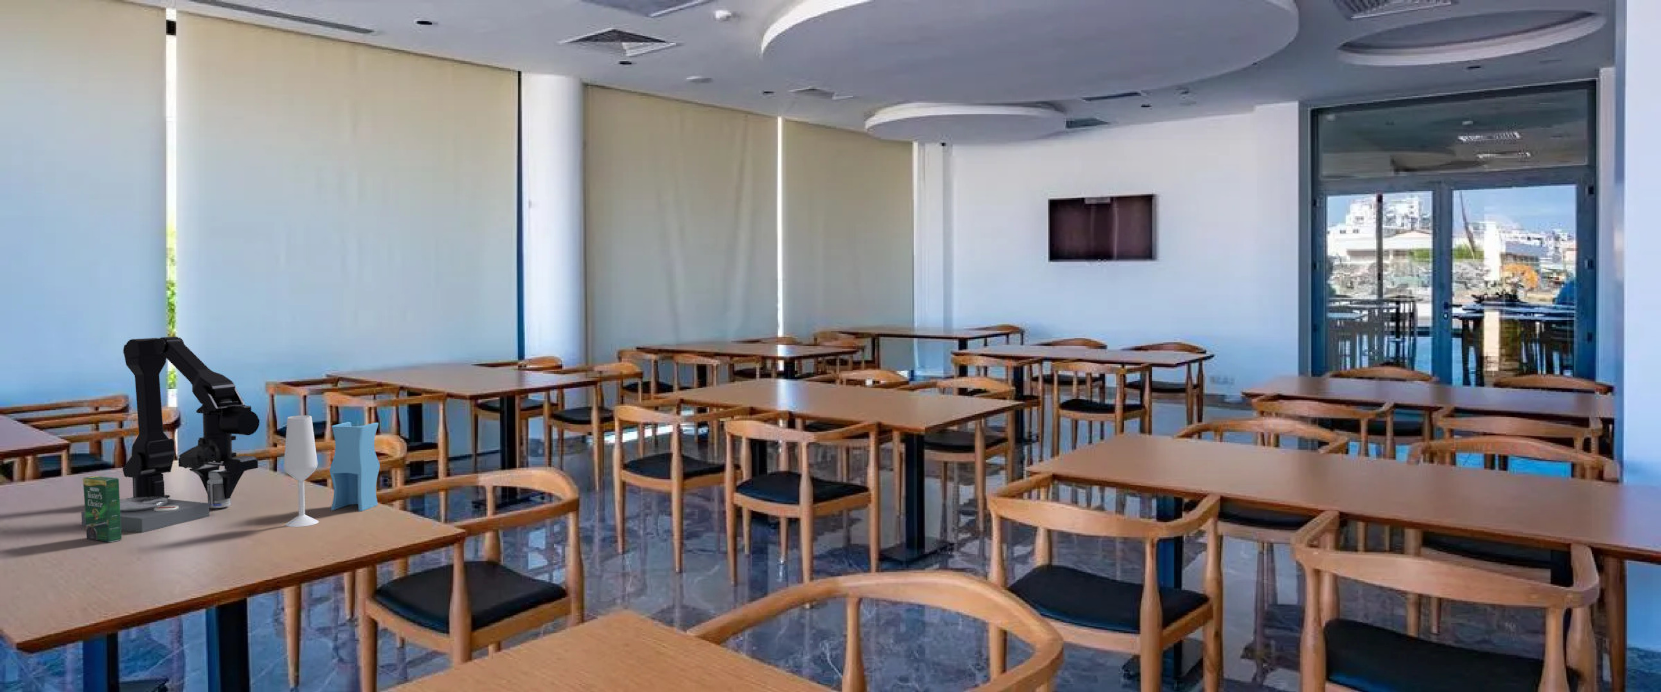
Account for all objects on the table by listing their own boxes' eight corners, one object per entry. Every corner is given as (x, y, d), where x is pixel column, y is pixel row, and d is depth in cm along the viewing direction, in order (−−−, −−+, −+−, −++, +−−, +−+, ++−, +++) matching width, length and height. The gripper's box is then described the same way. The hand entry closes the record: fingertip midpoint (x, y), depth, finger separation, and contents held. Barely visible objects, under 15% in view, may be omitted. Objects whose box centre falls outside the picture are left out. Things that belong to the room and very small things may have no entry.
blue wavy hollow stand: (380, 503, 244) (378, 422, 243) (362, 511, 236) (360, 427, 235) (349, 502, 245) (348, 421, 243) (330, 509, 237) (328, 426, 236)
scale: (81, 525, 220) (81, 509, 220) (151, 509, 235) (150, 494, 235) (142, 532, 214) (141, 515, 214) (209, 515, 230) (208, 500, 229)
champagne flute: (307, 518, 229) (305, 414, 227) (325, 522, 225) (322, 416, 224) (278, 524, 223) (276, 417, 221) (296, 528, 219) (293, 419, 218)
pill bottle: (235, 504, 240) (234, 469, 239) (221, 508, 235) (220, 473, 235) (217, 503, 240) (216, 468, 240) (203, 507, 236) (202, 472, 235)
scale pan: (96, 509, 222) (95, 504, 222) (143, 499, 232) (143, 495, 232) (132, 513, 218) (132, 508, 218) (179, 502, 229) (179, 498, 229)
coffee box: (84, 538, 209) (81, 476, 208) (98, 535, 212) (96, 474, 211) (107, 543, 206) (105, 480, 205) (122, 540, 208) (120, 477, 207)
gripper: (155, 435, 232) (158, 501, 233) (217, 440, 226) (219, 507, 227) (199, 428, 242) (201, 491, 243) (259, 433, 237) (260, 497, 238)
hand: (219, 497), depth 238 cm, fingers closed on pill bottle, 5 cm apart
